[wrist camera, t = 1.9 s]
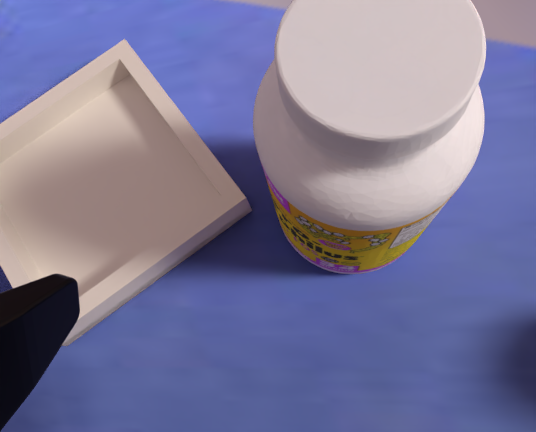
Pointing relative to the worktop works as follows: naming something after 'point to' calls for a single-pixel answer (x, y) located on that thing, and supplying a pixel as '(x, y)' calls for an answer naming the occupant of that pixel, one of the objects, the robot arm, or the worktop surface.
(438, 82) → the supplement bottle
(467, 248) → the worktop surface
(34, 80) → the worktop surface
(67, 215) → the tray
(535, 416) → the worktop surface
